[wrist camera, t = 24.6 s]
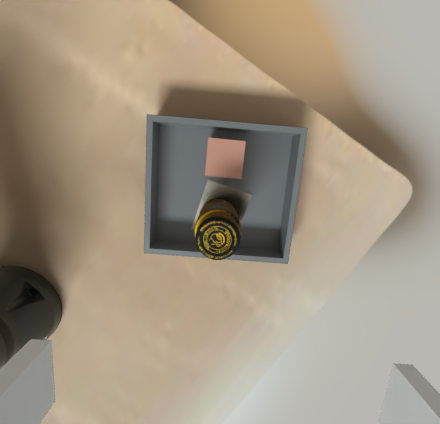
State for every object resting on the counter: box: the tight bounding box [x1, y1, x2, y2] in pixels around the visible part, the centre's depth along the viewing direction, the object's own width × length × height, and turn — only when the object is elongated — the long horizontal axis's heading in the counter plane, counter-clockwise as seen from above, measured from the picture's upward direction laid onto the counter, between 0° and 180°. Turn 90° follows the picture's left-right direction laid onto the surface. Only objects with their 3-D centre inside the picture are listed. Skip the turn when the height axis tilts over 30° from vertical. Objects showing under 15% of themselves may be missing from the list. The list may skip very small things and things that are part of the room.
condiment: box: [191, 180, 252, 260], centre depth 35 cm, size 7×8×12 cm
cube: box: [205, 138, 246, 179], centre depth 37 cm, size 5×5×5 cm
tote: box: [144, 114, 308, 264], centre depth 39 cm, size 20×22×5 cm
